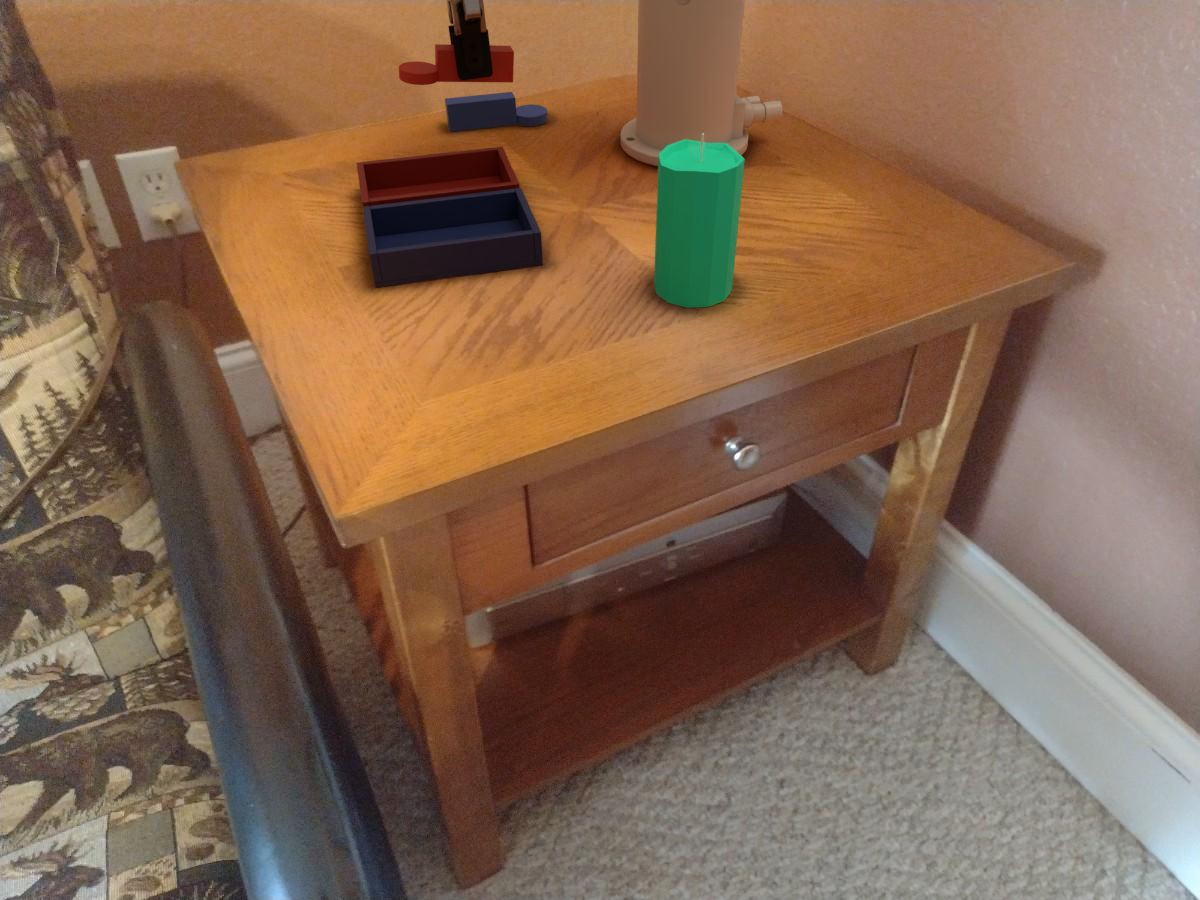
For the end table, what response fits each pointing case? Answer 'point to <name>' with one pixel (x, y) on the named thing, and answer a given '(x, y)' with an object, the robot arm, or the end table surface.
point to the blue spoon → (491, 112)
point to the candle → (697, 222)
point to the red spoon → (448, 71)
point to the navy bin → (451, 237)
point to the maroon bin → (435, 176)
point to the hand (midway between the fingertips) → (473, 72)
